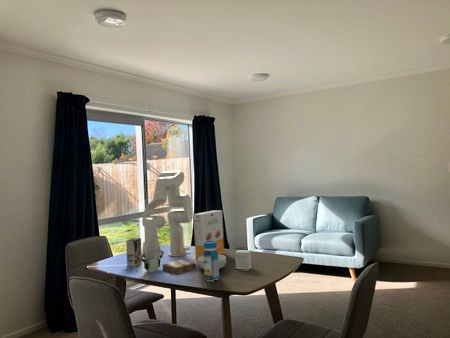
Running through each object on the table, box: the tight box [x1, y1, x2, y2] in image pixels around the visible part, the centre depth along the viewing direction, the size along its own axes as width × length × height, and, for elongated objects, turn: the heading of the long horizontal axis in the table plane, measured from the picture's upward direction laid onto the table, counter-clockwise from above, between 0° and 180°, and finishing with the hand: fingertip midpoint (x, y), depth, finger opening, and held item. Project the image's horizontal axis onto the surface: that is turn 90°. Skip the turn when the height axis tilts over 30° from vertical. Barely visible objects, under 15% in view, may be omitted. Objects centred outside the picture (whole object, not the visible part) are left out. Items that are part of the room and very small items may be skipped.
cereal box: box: [193, 209, 225, 261], centre depth 246 cm, size 22×6×30 cm, turn 143°
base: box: [162, 259, 197, 275], centre depth 217 cm, size 14×14×4 cm
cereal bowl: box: [197, 254, 227, 270], centre depth 215 cm, size 17×17×7 cm
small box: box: [234, 249, 252, 270], centre depth 212 cm, size 8×6×10 cm
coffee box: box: [125, 237, 143, 267], centre depth 235 cm, size 9×6×16 cm
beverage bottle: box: [203, 241, 220, 282], centre depth 195 cm, size 8×8×20 cm
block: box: [146, 257, 159, 273], centre depth 219 cm, size 5×5×7 cm
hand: (152, 267), depth 219 cm, fingers open, 7 cm apart
